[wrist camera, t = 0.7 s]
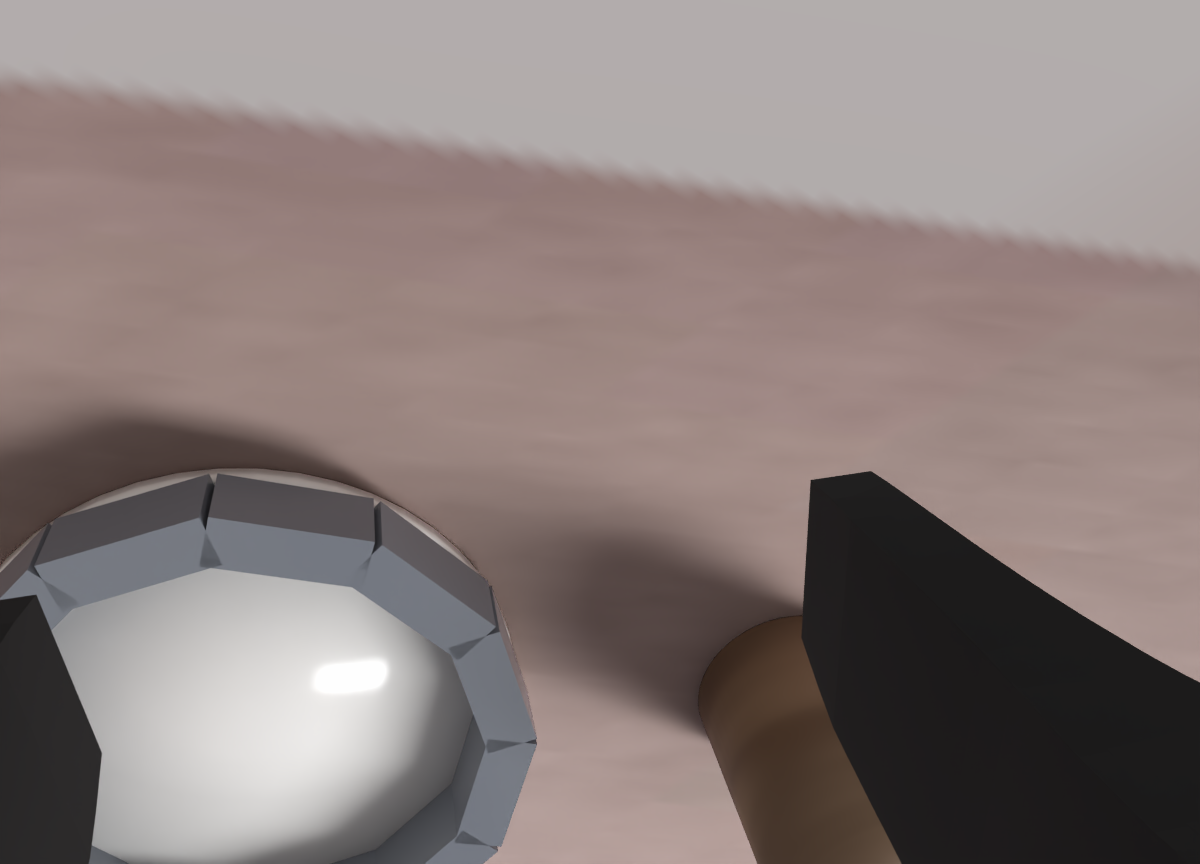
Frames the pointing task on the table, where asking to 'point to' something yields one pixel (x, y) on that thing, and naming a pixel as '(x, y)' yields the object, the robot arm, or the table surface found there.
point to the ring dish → (281, 674)
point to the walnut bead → (786, 754)
